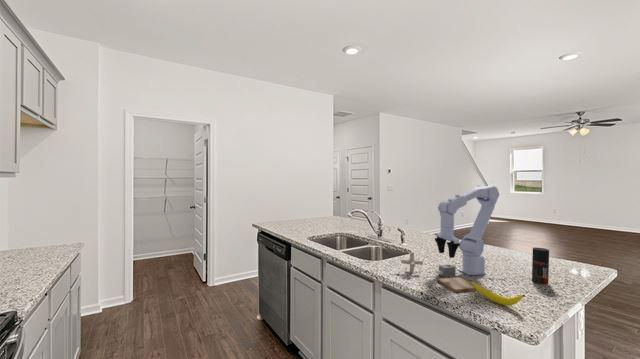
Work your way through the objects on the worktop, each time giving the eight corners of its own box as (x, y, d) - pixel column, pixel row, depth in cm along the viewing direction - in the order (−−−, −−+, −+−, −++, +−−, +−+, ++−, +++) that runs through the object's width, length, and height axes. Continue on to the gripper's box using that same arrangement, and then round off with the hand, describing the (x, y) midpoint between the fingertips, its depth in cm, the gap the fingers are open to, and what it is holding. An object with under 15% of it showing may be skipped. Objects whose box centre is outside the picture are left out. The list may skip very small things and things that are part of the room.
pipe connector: (424, 276, 134) (424, 255, 134) (401, 275, 136) (402, 254, 136) (420, 270, 144) (421, 250, 143) (400, 268, 146) (400, 249, 145)
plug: (451, 273, 139) (451, 264, 139) (457, 276, 135) (457, 267, 135) (434, 274, 137) (434, 265, 137) (439, 277, 133) (439, 268, 133)
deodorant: (541, 285, 125) (542, 251, 125) (528, 280, 131) (529, 247, 131) (551, 284, 127) (552, 250, 127) (538, 279, 133) (539, 247, 132)
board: (460, 279, 131) (460, 277, 131) (480, 290, 119) (480, 287, 119) (437, 281, 128) (437, 279, 128) (454, 292, 116) (455, 289, 116)
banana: (472, 292, 116) (473, 277, 116) (526, 312, 100) (526, 294, 100) (468, 294, 115) (469, 278, 115) (522, 314, 99) (522, 296, 99)
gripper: (430, 224, 142) (430, 251, 142) (449, 229, 128) (449, 260, 128) (443, 223, 143) (442, 250, 143) (463, 229, 129) (462, 259, 129)
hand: (446, 255), depth 136 cm, fingers open, 7 cm apart
